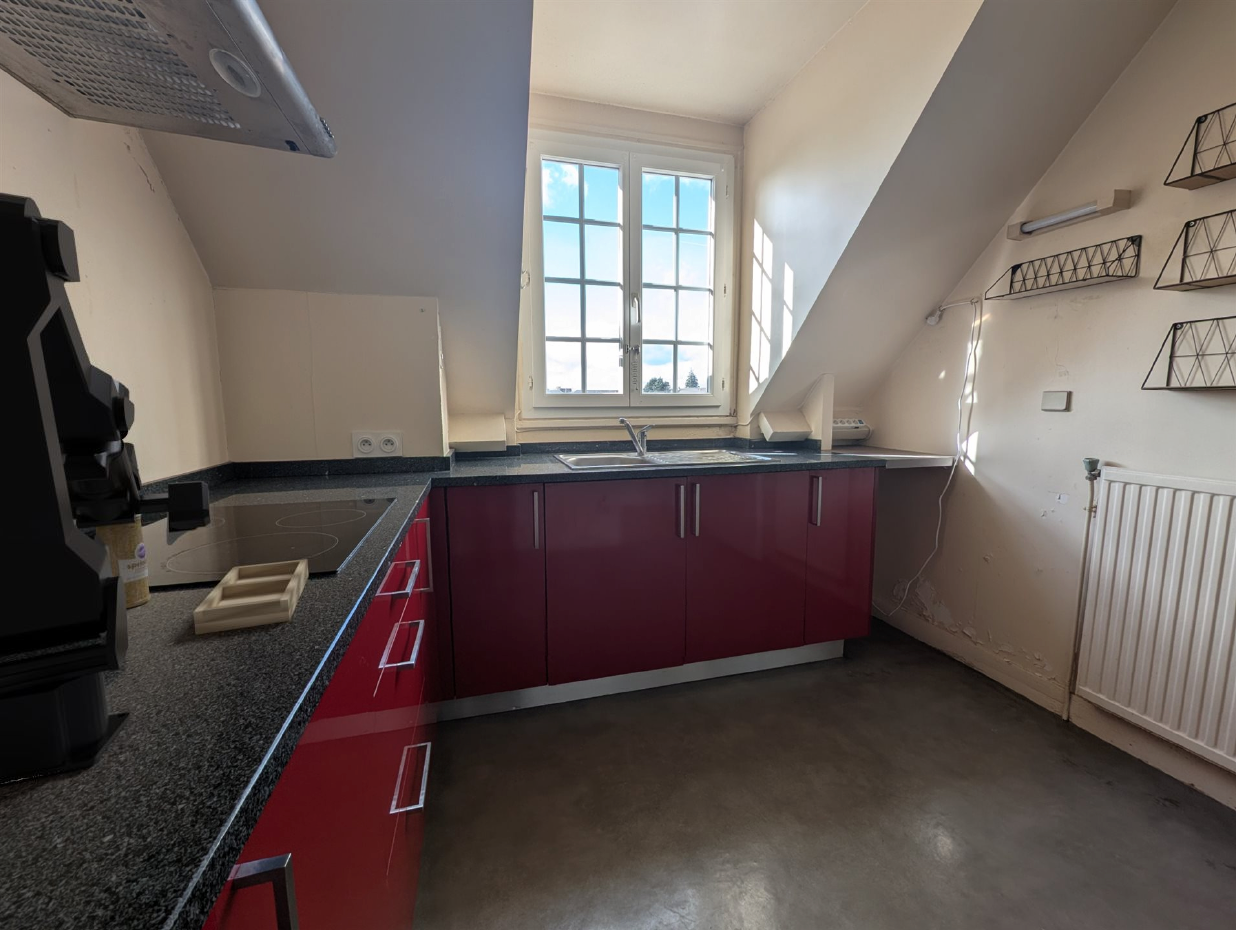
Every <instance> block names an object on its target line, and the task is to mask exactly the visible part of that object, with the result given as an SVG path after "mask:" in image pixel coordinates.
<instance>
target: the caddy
mask: <svg viewBox="0 0 1236 930" xmlns="http://www.w3.org/2000/svg"><path fill="white" fill-rule="evenodd" d="M308 579H309V565H308V558H306V559H298V560H297V559H296V560H288V561H287V560H285V561H279V562H269V563H259V564H249V565H240V566H239V565H238V566H233V567H232V569H230V571H228V572H227V574H226V575H225V576H224V577H223V578H222V579H221V580H220V582H219V583H218V584H217V585H216V586H215V587H214V588H213V589H212V590H211V591H210V593H209V594H208V595H207V596H206V597H205V599H203V600H202V601H201V603H200V604H199V605H198V606H197V607H196V608H195V609H194V611H192V612H193V621H194V623H193V624H194V631H195V635H202V634H208V633H216V632H223V631H229V630H235V629H241V628H242V629H243V628H244V629H245V628H250V627H257V626H263V625H271V624H278V623H283V622H290V621H291V619H292V617H293V615H294V612H295V610H296V607H297V605H298V602H299V600H300V596H302V593H303V591H304V587H305V586H306V583H307V582H308Z"/></svg>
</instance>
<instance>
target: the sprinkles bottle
mask: <svg viewBox="0 0 1236 930" xmlns="http://www.w3.org/2000/svg"><path fill="white" fill-rule="evenodd" d="M142 515H143V514H138V515H136V520H135V523H129V524H119V525H110V526H100V527H95V535H98V536H99V537H100V538H101V539H102V540H103V541H104V542H105V544H106V549H107V552H108V555H109V560H110V565H111V569H112V574H113V577H116V576H121V577H122V579H123V582H124V587H125V595H126V609H130V608H134V607H136V606H140V605H143V604H145V603H147V602H149V601H150V600H151V598H152V595H151V594H150V589H149V581H148V574H149V573H148V564H147V557H146V548H145V544H144V537H143V530H142V529H143V528H142V522H141V521H142V520H141V519H142V517H141V516H142Z"/></svg>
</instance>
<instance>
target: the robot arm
mask: <svg viewBox="0 0 1236 930" xmlns="http://www.w3.org/2000/svg"><path fill="white" fill-rule="evenodd" d="M75 237H76V236H75V231H74V230H73V229H72V228H71V227H70V226H69V225H68V224H66V222H64V221H62V220H60V219H55V218H53V219H52V218H49V217H43V216H42V214H41V211H40V209H39V207H38V205H37V203H36V201H35V200H34V199H33V197H30V196H24V195H18V194H11V193H6V192H5V193H4V192H0V658H3V657H8V656H14V655H19V654H24V653H25V654H26V653H30V652H34V651H39V650H45V649H49V648H50V649H51V648H54V647H61V646H66V645H70V644H75V643H81V642H85V641H90V640H91V641H92V640H95V639H101V638H104V637H105V641H104V642H100V643H94V644H90V645H86V646H84V645H83V646H79V647H76V648H70V649H65V650H58V651H55V652H50V653H44V654H39V655H35V656H30V657H25V658H20V659H16V660H11V661H4V662H0V784H1V783H5V782H8V781H9V782H10V781H11V780H18V779H21V778H28V777H29V778H31V779H33V778H32V777H33V776H34V777H35V776H38V775H39V776H40V775H45V776H47V775H46V774H48V773H54V772H55V773H54V774H57V773H56V772H58V771H63V772H67V770H68V771H71V770H72V769H73V770H77V769H80V768H79V767H82V768H85V767H89V766H92V765H93V764H95V763H96V762H98V759H100V758H101V756H102V755H103V753H104V752H105V751H106V750H107V748H108V747H109V746H110V745H111V744H112V742H113V741H114V740H115V738H116V737H117V736H118V735H119V733H120V732H121V731H122V730H123V728H124V727H125V726H126V725H127V723H128V722H129V720H131V712H129V711H125V712H124V711H123V712H120V713H114V714H109V708H108V700H107V692H106V683H105V676H104V672H108V671H110V672H114V671H117V670H120V669H121V668H122V665H123V662H124V659H125V657H126V655H127V651H128V649H129V634H128V617H127V616H128V615H127V608H126V595H125V587H124V582H123V579H122V577H121V576H116V577H113V574H112V569H111V565H110V560H109V555H108V552H107V549H106V544H105V542H104V541H103V540H102V539H101V538H100V537H99V536H98V535H96V534H92V535H87V534H85V533H84V532H83V531H82V530H80V529H88V528H96V527H100V526H110V525H119V524H129V523H135V520H136V515H138V514H142V515H146V514H147V515H148V514H158V513H167V516H166V517H167V518H166V537H165V538H166V544H167V546H173V544H174V543H175V542H176V541H177V540H178V539H179V538H181V537H182V536H183V535H185V534H187V533H188V532H192V531H193V532H194V531H196V530H198V529H199V528H206V527H207V526H208V525H210V524H211V520H212V519H211V505H210V492H209V486H208V483H206V482H205V481H203V480H194V481H193V480H191V481H177V482H168V484H167V492H166V493H165V492H163V493H153V494H151V493H150V494H140V495H139V491H142V483H143V482H142V479H141V475H140V471H139V468H138V467H139V466H138V460H137V454H136V450H135V445H134V443H132V442H124V439H126V437H127V436H128V434H129V431H130V430H131V428H132V426H133V425H134V422H135V413H136V412H135V411H136V409H135V404H134V402H132V401H131V400H130V392H131V391H130V389H129V388H128V387H126V385H125V384H123V383H122V382H120V380H116V379H114V378H113V376H112V375H110V374H109V373H107V372H106V371H104V370H102V369H100V368H98V366H95V365H93V364H92V363H91V361H90V358H89V356H88V353H87V350H86V347H85V345H84V344H85V343H84V341H83V338H82V335H81V333H80V329H79V325H78V323H77V319H76V318H75V314H74V311H73V309H72V305H71V303H70V298H69V296H68V293H67V289H66V288H65V283H80V282H81V276H80V275H81V274H80V269H79V260H78V254H77V253H78V252H77V247H76V240H75V239H76V238H75ZM88 765H89V766H88ZM75 768H76V769H75ZM70 769H71V770H70ZM64 770H66V771H64ZM40 777H41V776H40Z"/></svg>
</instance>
